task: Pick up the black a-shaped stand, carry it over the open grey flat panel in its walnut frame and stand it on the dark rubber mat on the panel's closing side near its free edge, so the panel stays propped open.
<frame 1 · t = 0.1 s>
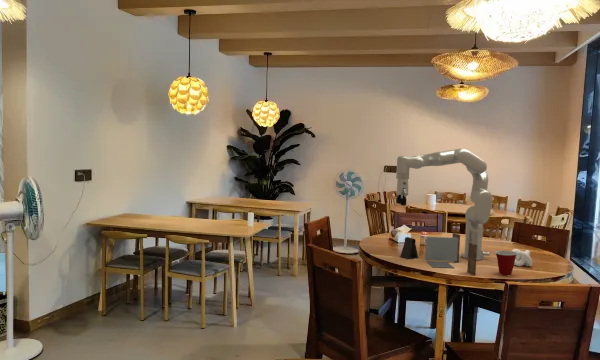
hand: (401, 204, 268), 31 cm above the table, tool pointing down, fingers open, 9 cm apart
plastic cup: (504, 274, 233), on the table
stopper mat: (440, 265, 247), on the table
black a-shaped stand: (409, 258, 263), on the table
grey flat panel: (441, 248, 254), point 8 cm above the table, hinge at 90.0°
white knot sculpture: (521, 265, 254), on the table
door frame: (457, 262, 254), on the table
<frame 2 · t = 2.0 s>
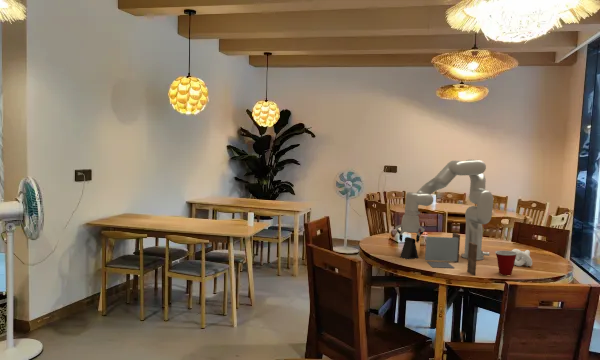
hand: (409, 241, 262), 10 cm above the table, tool pointing down, fingers open, 9 cm apart
nothing on the table moved.
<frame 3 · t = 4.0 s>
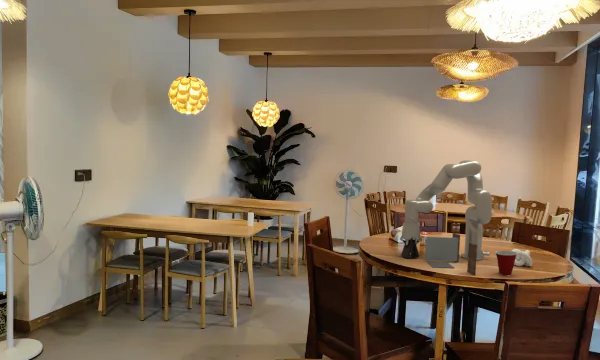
hand: (410, 250, 263), 4 cm above the table, tool pointing down, fingers closed on black a-shaped stand, 3 cm apart
black a-shaped stand: (410, 256, 263), on the table, touching gripper
everything else where it was.
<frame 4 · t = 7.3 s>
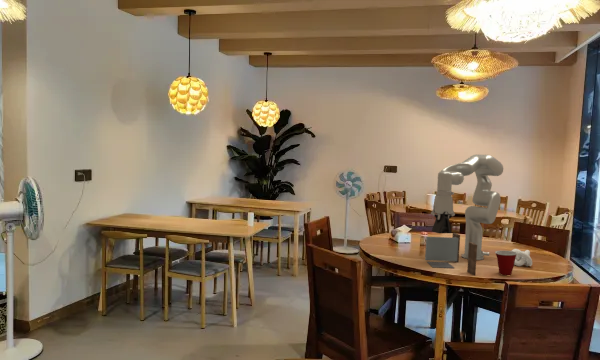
hand: (442, 226, 246), 22 cm above the table, tool pointing down, fingers closed on black a-shaped stand, 3 cm apart
black a-shaped stand: (441, 232, 246), point 18 cm above the table, touching gripper
everything else where it was.
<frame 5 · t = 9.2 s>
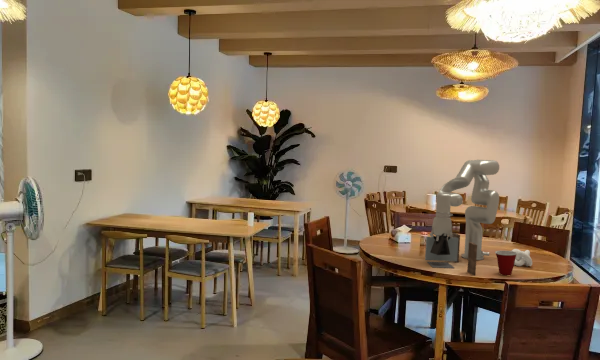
hand: (440, 247, 247), 10 cm above the table, tool pointing down, fingers closed on black a-shaped stand, 3 cm apart
black a-shaped stand: (440, 254, 247), point 6 cm above the table, touching gripper
everything else where it was.
when the fingers open (4 cm above the table, at t = 10.6 s): black a-shaped stand stays where it is, resting on stopper mat.
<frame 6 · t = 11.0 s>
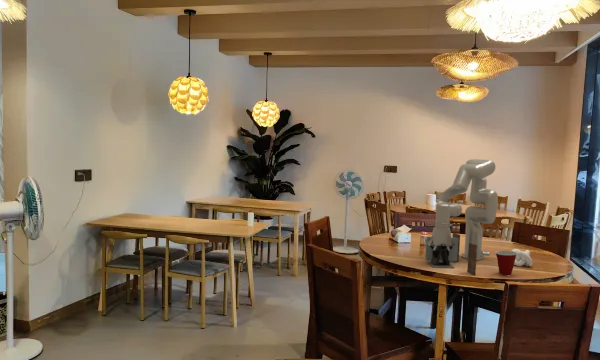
hand: (440, 257, 247), 5 cm above the table, tool pointing down, fingers open, 6 cm apart
black a-shaped stand: (440, 264, 248), resting on stopper mat
everything else where it was.
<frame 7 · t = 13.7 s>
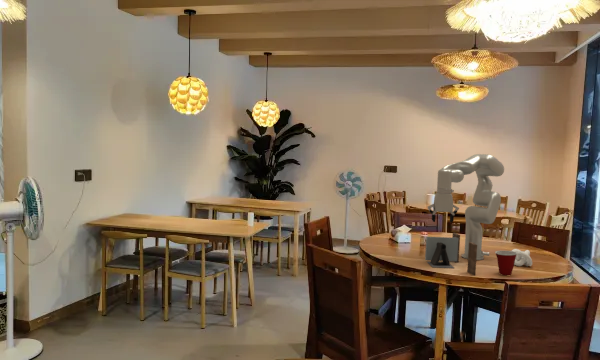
hand: (442, 221, 247), 24 cm above the table, tool pointing down, fingers open, 9 cm apart
nothing on the table moved.
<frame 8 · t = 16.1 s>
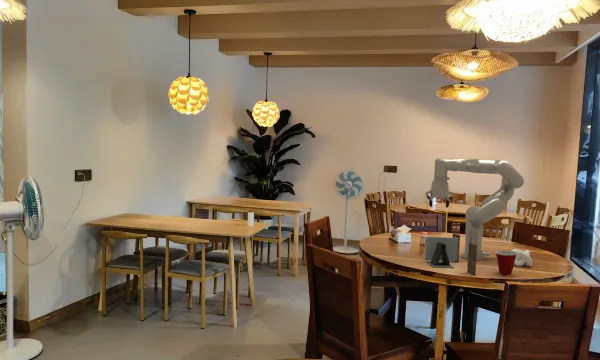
hand: (438, 207, 268), 30 cm above the table, tool pointing down, fingers open, 9 cm apart
nothing on the table moved.
at the end: black a-shaped stand inside the target area (0.4 cm from its centre), resting on stopper mat; black a-shaped stand tilted 0°; grey flat panel at +90° (first picture: +90°) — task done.
